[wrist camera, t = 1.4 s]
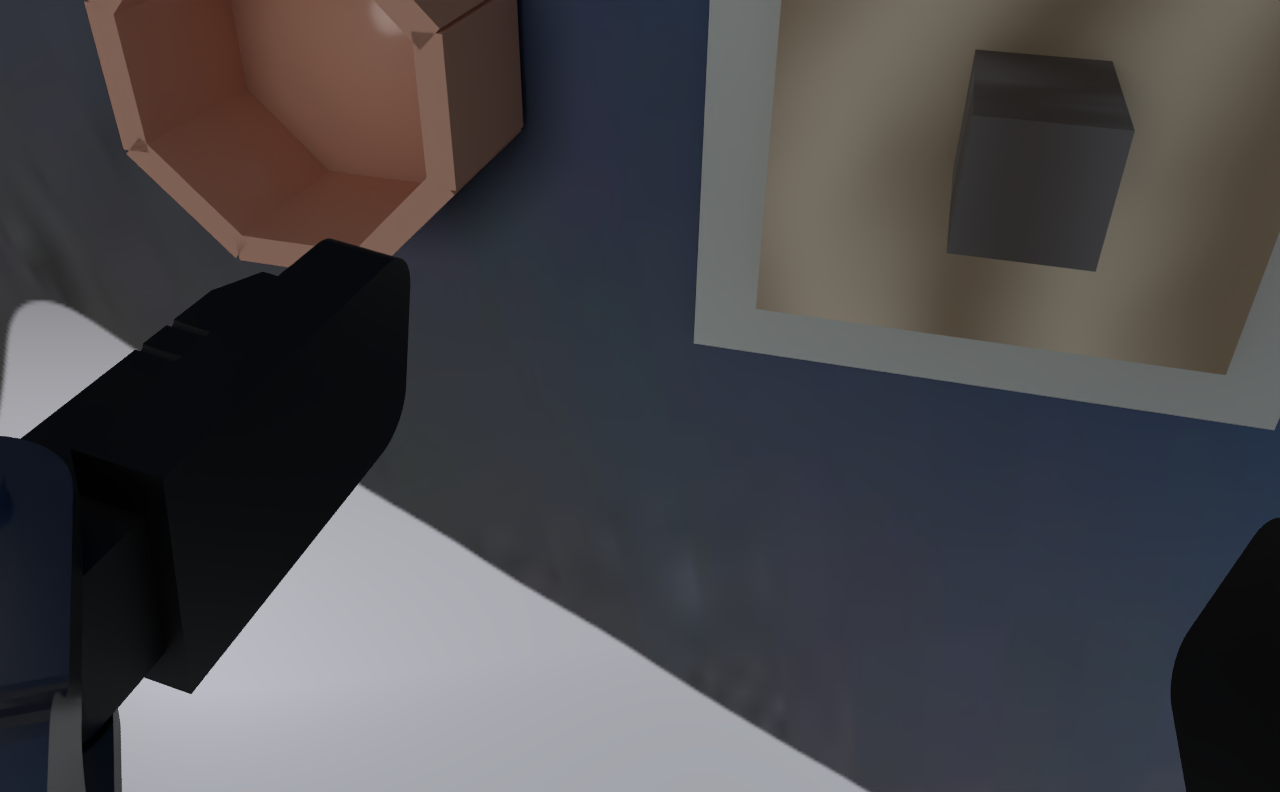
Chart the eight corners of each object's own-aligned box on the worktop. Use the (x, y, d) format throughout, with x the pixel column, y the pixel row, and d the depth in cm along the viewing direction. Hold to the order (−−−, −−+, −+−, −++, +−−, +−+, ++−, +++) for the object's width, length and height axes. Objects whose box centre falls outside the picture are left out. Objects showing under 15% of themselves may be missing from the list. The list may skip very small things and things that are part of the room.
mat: (1558, -272, 22) (1569, -271, 21) (1270, 420, 31) (1274, 430, 31) (727, -289, 25) (723, -289, 25) (697, 335, 35) (693, 343, 34)
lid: (1413, -162, 23) (1523, -121, 18) (1221, 360, 30) (1262, 485, 25) (801, -187, 25) (759, -158, 21) (760, 296, 33) (722, 398, 28)
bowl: (516, -137, 28) (429, -104, 24) (533, 213, 34) (465, 292, 30) (186, -155, 30) (49, -127, 26) (252, 177, 36) (149, 247, 32)
